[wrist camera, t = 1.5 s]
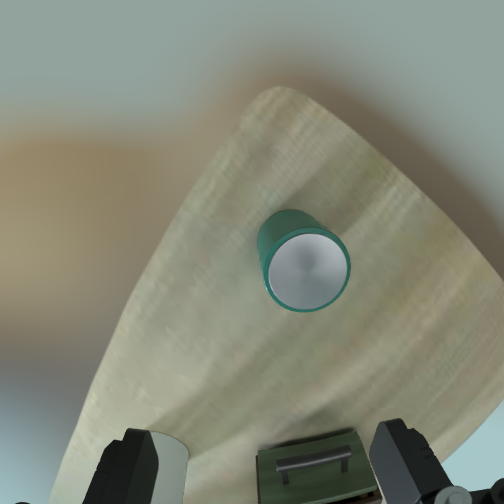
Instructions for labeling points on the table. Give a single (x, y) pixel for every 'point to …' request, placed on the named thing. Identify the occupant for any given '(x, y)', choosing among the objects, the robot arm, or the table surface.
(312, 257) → the can
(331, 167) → the table surface
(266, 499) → the drawer
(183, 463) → the cylindrical container
